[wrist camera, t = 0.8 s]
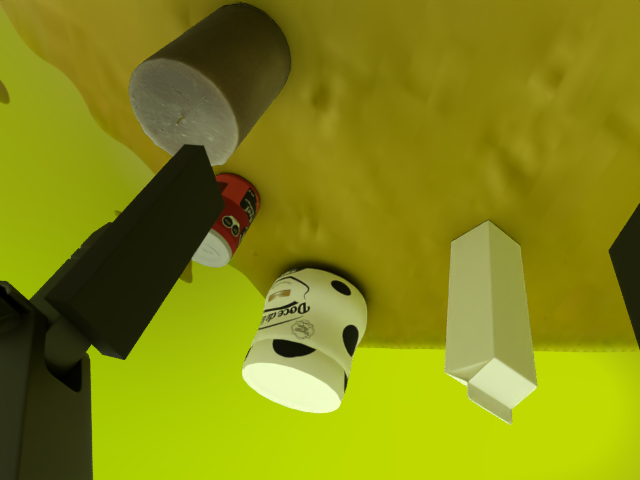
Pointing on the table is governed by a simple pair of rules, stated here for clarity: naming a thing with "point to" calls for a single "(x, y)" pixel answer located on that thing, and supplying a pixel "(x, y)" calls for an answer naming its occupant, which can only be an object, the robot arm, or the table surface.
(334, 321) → the milk container
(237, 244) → the canned food
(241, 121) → the pillar candle
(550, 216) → the table surface
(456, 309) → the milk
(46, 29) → the table surface
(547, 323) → the table surface
